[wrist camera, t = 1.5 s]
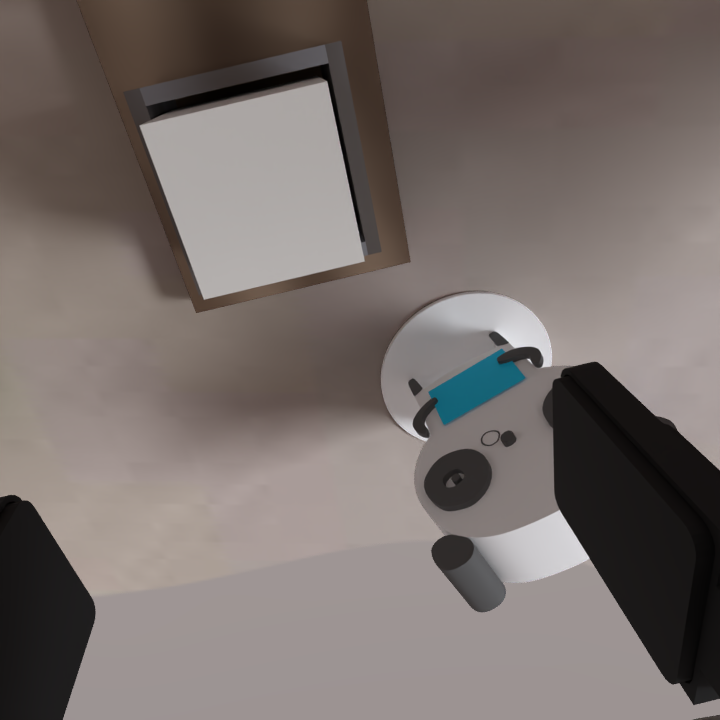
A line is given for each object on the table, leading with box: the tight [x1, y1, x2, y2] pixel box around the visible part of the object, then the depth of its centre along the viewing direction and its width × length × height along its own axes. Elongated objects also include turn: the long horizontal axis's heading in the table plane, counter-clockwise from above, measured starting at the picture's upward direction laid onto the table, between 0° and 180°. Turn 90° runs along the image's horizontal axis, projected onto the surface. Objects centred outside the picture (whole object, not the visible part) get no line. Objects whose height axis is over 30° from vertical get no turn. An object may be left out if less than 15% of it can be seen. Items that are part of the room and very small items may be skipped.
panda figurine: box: [381, 291, 677, 612], centre depth 30 cm, size 12×11×15 cm
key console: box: [77, 0, 410, 313], centre depth 23 cm, size 12×26×8 cm, turn 12°
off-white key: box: [140, 76, 365, 300], centre depth 22 cm, size 6×6×6 cm
